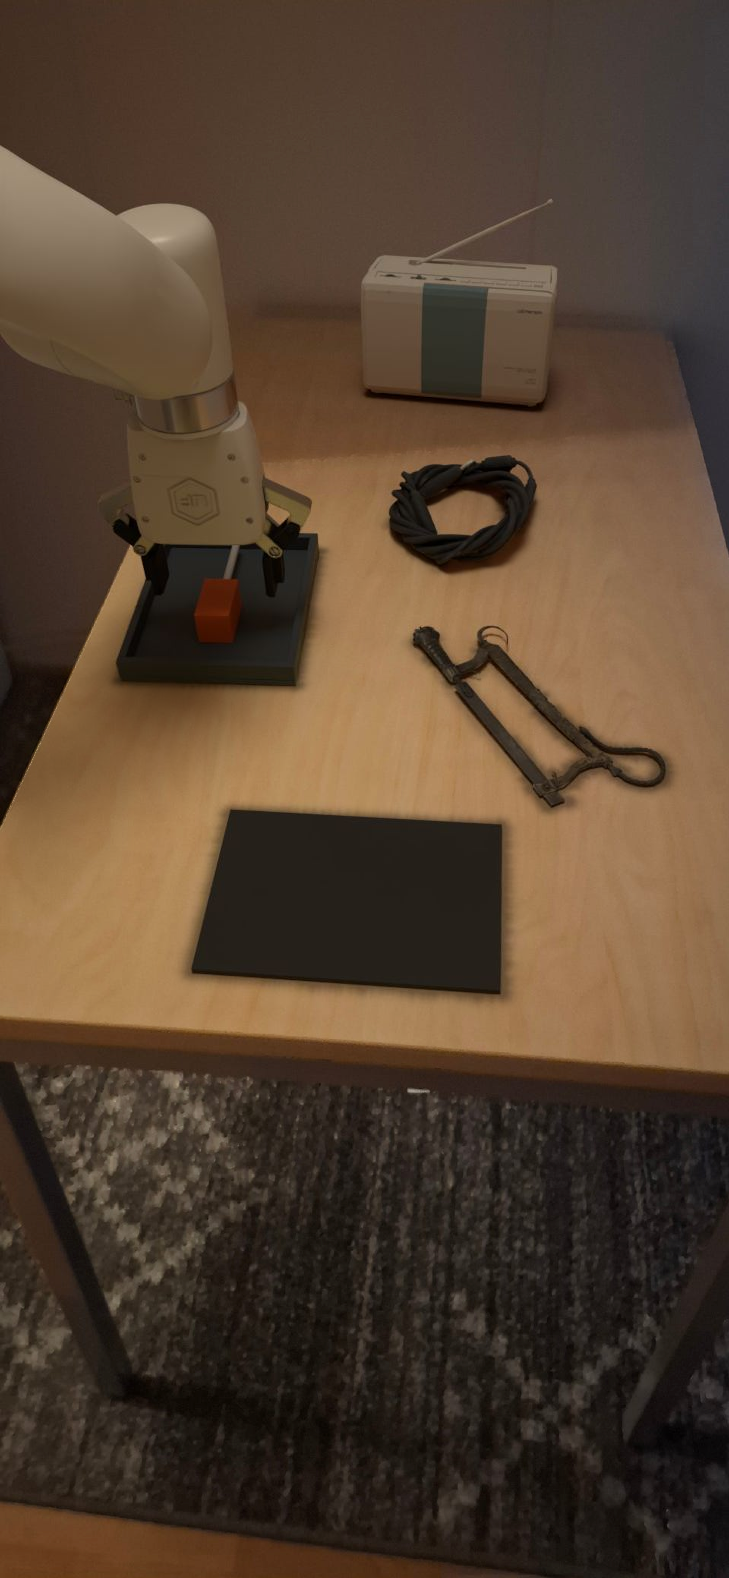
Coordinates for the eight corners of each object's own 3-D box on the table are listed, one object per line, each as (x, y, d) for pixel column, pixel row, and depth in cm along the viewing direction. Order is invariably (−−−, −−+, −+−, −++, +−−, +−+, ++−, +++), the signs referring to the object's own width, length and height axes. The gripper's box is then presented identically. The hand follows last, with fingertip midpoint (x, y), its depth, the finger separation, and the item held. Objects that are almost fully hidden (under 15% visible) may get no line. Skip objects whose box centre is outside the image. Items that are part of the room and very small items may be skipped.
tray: (295, 686, 87) (293, 666, 85) (120, 680, 88) (115, 661, 86) (319, 551, 100) (317, 533, 98) (166, 548, 101) (162, 530, 99)
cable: (512, 584, 96) (516, 543, 93) (365, 562, 99) (364, 522, 95) (543, 486, 107) (547, 447, 104) (410, 470, 110) (410, 431, 107)
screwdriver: (233, 643, 90) (228, 615, 88) (198, 642, 90) (193, 614, 88) (254, 555, 99) (251, 527, 97) (223, 554, 99) (219, 527, 97)
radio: (361, 399, 121) (355, 212, 106) (376, 367, 126) (373, 184, 111) (542, 415, 117) (562, 223, 102) (550, 381, 122) (570, 194, 108)
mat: (191, 972, 68) (190, 969, 68) (230, 812, 77) (230, 808, 77) (500, 993, 66) (500, 990, 66) (501, 827, 76) (501, 824, 75)
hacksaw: (406, 638, 91) (406, 624, 90) (508, 604, 94) (509, 590, 93) (561, 824, 76) (563, 810, 75) (676, 776, 79) (680, 762, 78)
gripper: (57, 421, 75) (108, 612, 87) (296, 423, 73) (313, 616, 86) (83, 372, 80) (128, 559, 92) (308, 373, 78) (322, 562, 91)
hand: (217, 586), depth 89 cm, fingers open, 9 cm apart
